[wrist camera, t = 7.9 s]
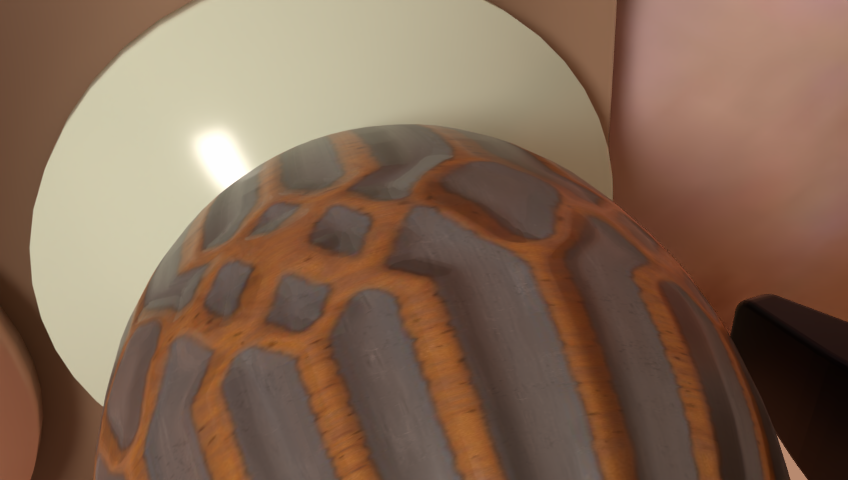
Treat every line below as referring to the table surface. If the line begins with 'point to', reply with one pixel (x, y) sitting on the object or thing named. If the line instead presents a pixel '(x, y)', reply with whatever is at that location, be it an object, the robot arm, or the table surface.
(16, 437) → the terracotta disc
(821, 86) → the table surface
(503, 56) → the cream disc
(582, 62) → the board
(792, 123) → the table surface
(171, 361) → the vase
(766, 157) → the table surface
